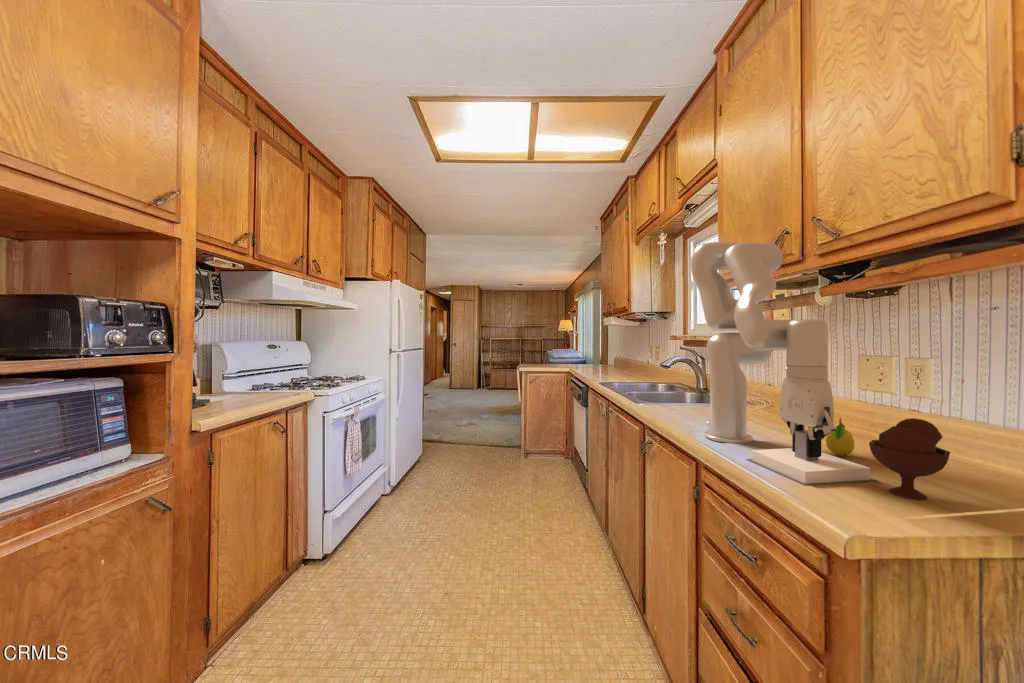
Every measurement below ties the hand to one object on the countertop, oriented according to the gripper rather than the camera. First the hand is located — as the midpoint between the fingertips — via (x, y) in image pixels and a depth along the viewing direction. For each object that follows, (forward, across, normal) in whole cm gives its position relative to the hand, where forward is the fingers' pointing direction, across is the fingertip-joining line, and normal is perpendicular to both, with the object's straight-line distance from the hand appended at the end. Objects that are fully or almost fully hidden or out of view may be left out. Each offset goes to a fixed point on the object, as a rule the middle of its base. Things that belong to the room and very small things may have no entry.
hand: (806, 453), depth 88 cm
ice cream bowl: (+4, +15, +7) cm, 17 cm away
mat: (+4, 0, 0) cm, 4 cm away
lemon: (+4, -8, +17) cm, 19 cm away
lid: (+4, 0, 0) cm, 4 cm away
